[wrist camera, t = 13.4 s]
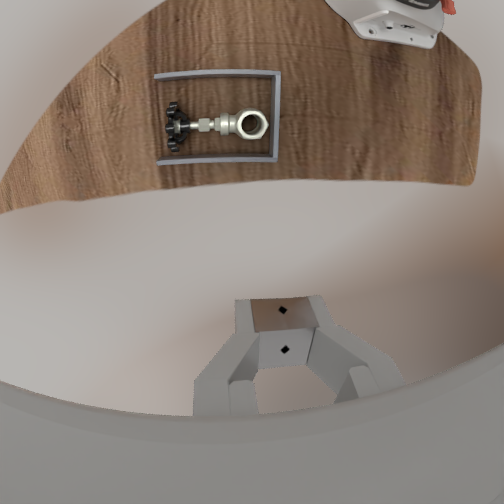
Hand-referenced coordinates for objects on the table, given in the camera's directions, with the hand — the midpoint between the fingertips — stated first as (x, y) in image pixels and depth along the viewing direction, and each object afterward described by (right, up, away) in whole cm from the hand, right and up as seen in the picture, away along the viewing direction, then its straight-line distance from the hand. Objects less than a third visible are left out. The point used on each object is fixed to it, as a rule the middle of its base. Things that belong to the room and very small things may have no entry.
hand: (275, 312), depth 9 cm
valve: (-5, +20, +25) cm, 32 cm away
